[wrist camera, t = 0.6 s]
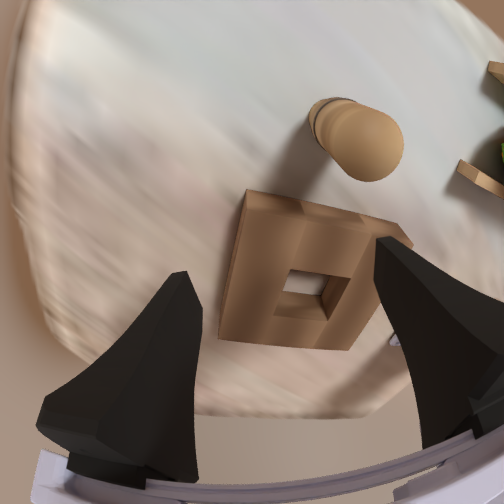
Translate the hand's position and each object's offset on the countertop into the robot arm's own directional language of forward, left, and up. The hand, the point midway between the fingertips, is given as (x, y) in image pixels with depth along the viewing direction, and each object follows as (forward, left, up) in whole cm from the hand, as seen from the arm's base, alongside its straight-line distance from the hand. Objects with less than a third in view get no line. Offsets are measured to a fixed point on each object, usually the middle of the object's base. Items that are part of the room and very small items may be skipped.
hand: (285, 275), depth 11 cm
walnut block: (-5, +7, -10) cm, 13 cm away
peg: (-3, -5, -10) cm, 12 cm away
